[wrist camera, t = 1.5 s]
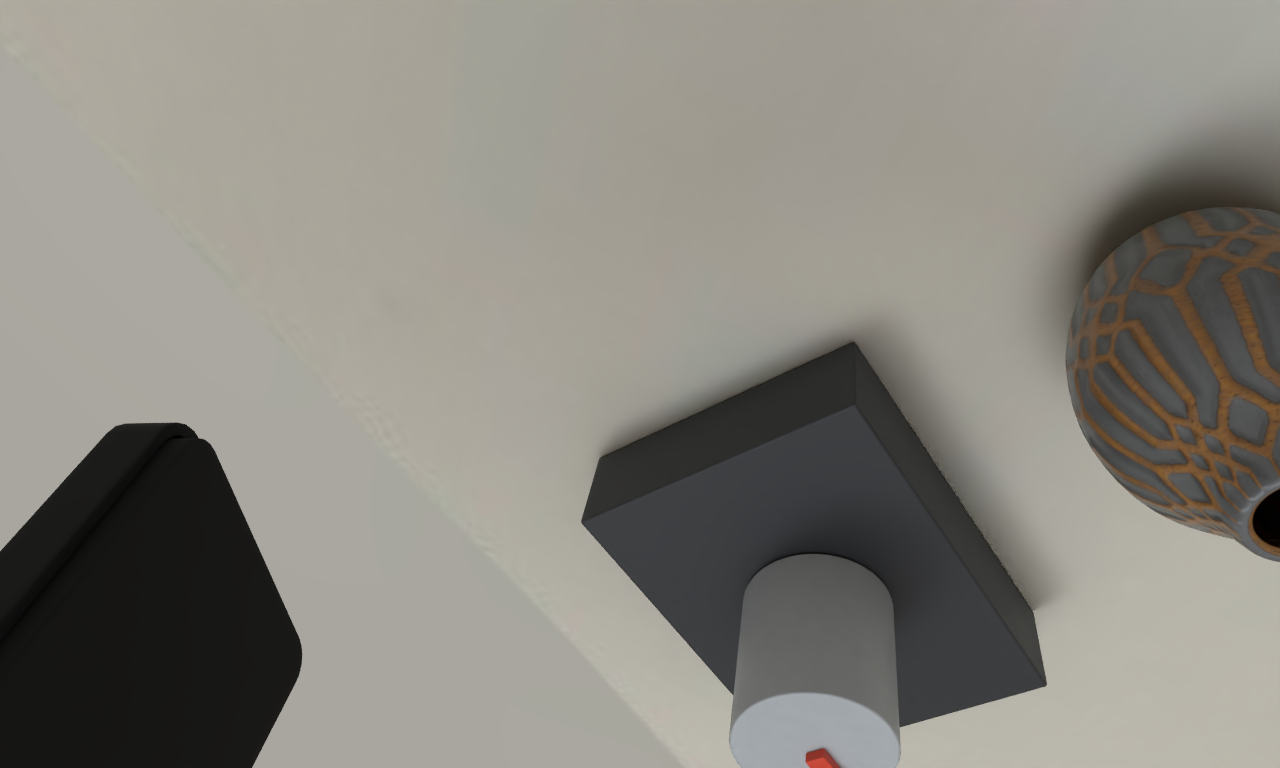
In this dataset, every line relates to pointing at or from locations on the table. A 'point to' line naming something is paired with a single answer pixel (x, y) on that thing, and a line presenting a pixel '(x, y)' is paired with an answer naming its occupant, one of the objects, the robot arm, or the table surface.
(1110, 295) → the vase
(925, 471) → the dial panel
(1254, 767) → the table surface
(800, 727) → the dial
